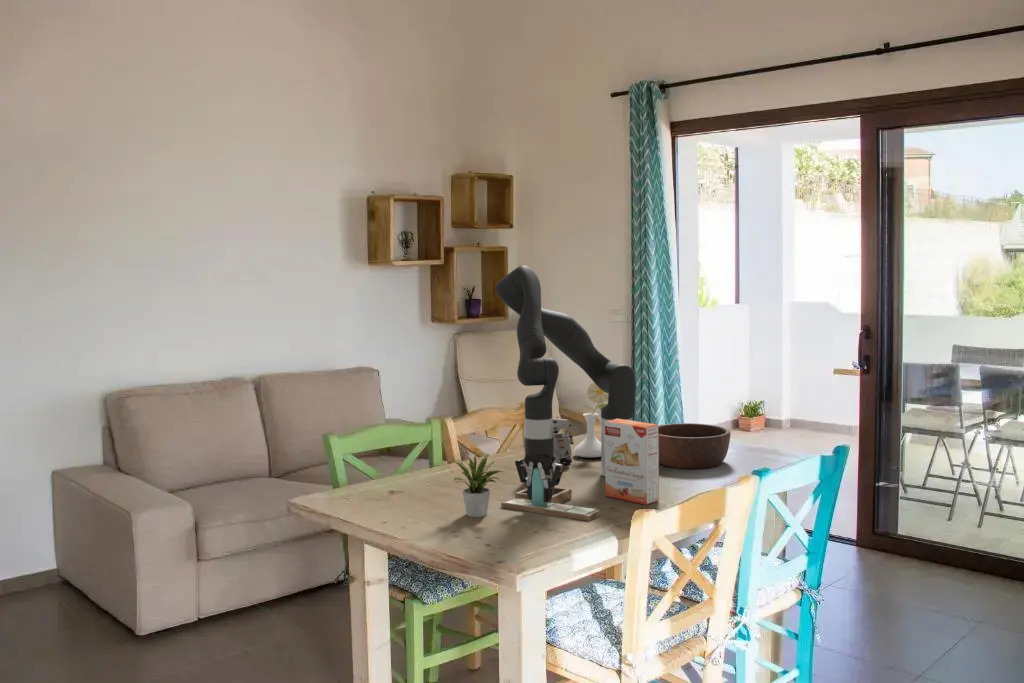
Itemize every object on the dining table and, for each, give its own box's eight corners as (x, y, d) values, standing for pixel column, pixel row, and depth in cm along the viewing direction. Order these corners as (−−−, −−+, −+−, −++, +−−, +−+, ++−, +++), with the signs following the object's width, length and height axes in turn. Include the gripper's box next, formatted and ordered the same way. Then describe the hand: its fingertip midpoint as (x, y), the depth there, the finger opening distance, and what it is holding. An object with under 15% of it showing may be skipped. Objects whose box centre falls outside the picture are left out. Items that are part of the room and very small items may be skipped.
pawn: (537, 501, 256) (536, 463, 255) (550, 503, 254) (549, 464, 253) (529, 505, 252) (528, 466, 252) (542, 507, 250) (541, 467, 249)
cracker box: (604, 496, 265) (603, 420, 263) (618, 492, 269) (617, 417, 267) (645, 506, 255) (645, 426, 253) (659, 501, 259) (659, 423, 257)
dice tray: (536, 493, 270) (536, 484, 270) (571, 498, 264) (571, 489, 264) (515, 502, 261) (515, 493, 261) (550, 507, 255) (550, 498, 255)
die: (539, 478, 264) (527, 481, 260) (554, 481, 261) (542, 485, 257) (539, 497, 265) (527, 500, 261) (554, 500, 261) (542, 504, 257)
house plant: (456, 525, 240) (454, 460, 238) (437, 512, 252) (435, 449, 251) (509, 518, 245) (508, 454, 244) (488, 505, 258) (487, 444, 256)
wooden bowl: (739, 458, 310) (739, 426, 309) (717, 474, 288) (717, 440, 287) (663, 451, 322) (663, 420, 321) (637, 467, 300) (637, 434, 299)
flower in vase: (568, 458, 313) (567, 381, 310) (580, 451, 323) (579, 376, 321) (607, 461, 308) (607, 383, 305) (618, 454, 318) (617, 378, 316)
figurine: (543, 460, 311) (543, 414, 309) (576, 464, 305) (575, 416, 304) (530, 466, 303) (529, 418, 302) (563, 470, 297) (562, 421, 296)
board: (513, 502, 261) (513, 496, 261) (600, 515, 247) (600, 509, 247) (501, 507, 256) (501, 502, 256) (589, 520, 242) (588, 515, 242)
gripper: (507, 435, 252) (508, 500, 254) (555, 440, 244) (556, 507, 246) (523, 430, 258) (524, 494, 260) (570, 435, 251) (571, 500, 252)
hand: (539, 500), depth 253 cm, fingers closed on pawn, 4 cm apart
